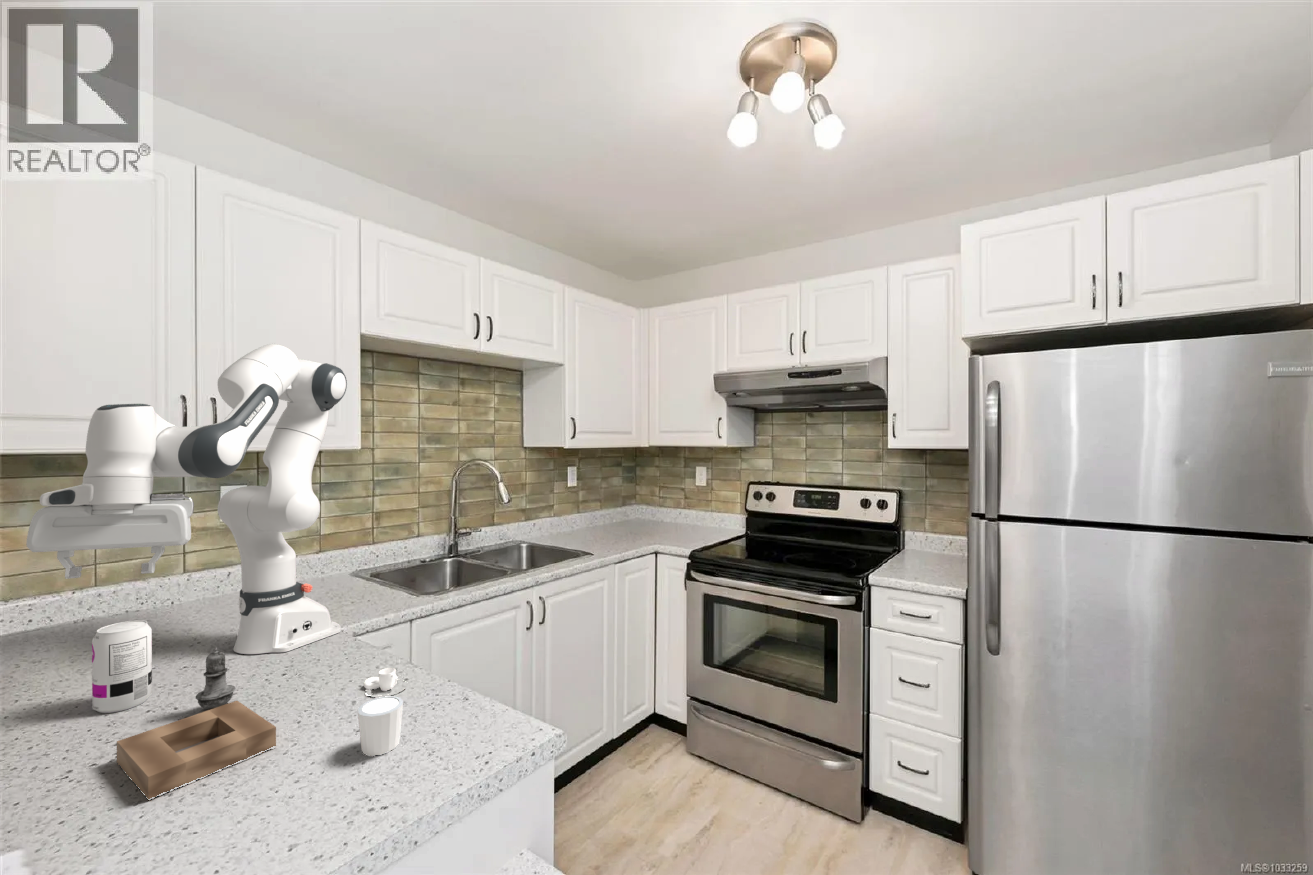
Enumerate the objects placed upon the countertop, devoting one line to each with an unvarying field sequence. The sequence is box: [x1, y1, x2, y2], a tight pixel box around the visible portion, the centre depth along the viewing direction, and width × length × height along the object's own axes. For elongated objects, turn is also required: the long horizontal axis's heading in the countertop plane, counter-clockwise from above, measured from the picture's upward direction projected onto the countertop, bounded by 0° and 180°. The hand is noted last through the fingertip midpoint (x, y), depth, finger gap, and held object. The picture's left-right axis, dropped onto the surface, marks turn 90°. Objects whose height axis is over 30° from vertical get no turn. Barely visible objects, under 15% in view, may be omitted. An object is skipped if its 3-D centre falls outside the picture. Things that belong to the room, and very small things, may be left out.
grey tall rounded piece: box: [195, 647, 236, 714], centre depth 103 cm, size 6×6×12 cm
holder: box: [116, 700, 277, 799], centre depth 89 cm, size 16×16×4 cm
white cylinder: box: [357, 695, 404, 755], centre depth 92 cm, size 7×7×7 cm
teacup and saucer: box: [363, 667, 407, 697], centre depth 113 cm, size 9×8×4 cm
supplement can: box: [91, 619, 153, 714], centre depth 106 cm, size 8×8×15 cm
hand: (111, 575), depth 94 cm, fingers open, 8 cm apart
